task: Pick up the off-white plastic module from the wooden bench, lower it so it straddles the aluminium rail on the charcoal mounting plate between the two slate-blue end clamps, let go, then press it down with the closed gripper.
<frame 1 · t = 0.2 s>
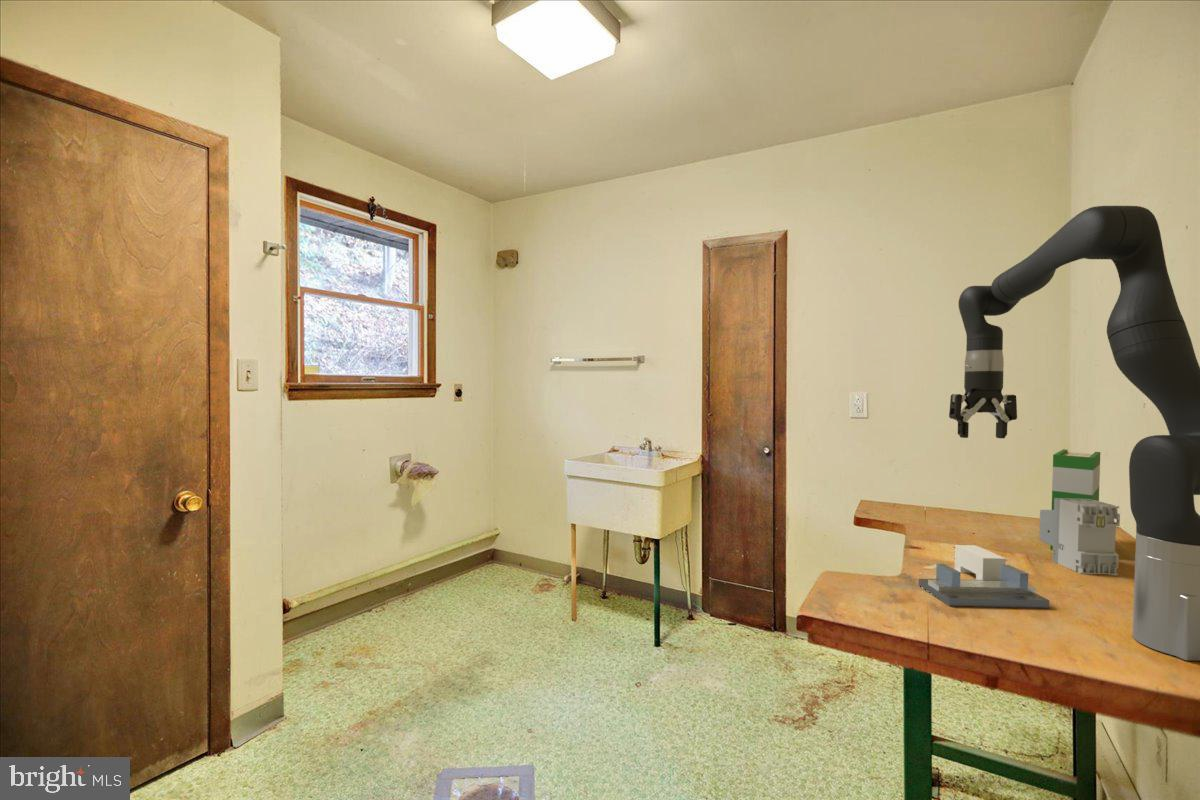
hand: (982, 437, 127), 29 cm above the workbench, tool pointing down, fingers open, 8 cm apart
rail mount: (980, 596, 103), on the workbench
circuit breaker: (1073, 564, 123), on the workbench
module: (978, 577, 113), on the workbench
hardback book: (1074, 547, 136), on the workbench
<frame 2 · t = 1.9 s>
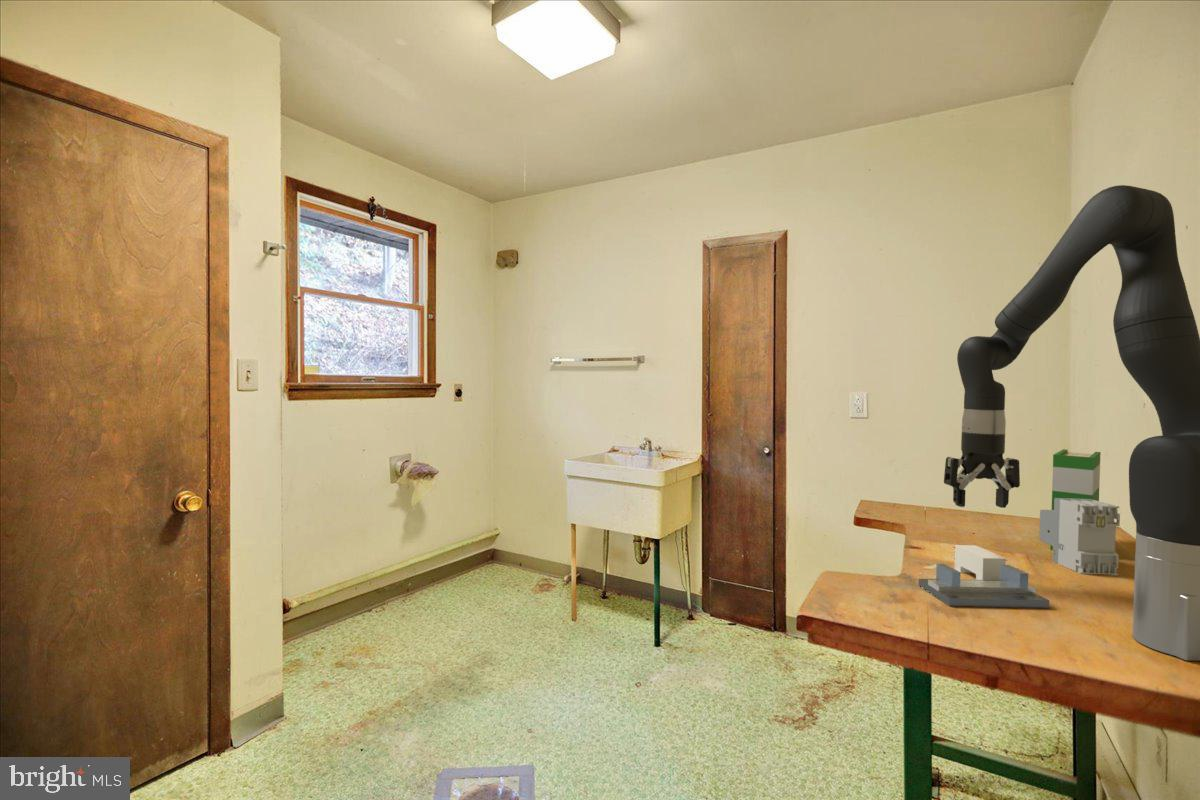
hand: (980, 506, 113), 15 cm above the workbench, tool pointing down, fingers open, 8 cm apart
nothing on the workbench moved.
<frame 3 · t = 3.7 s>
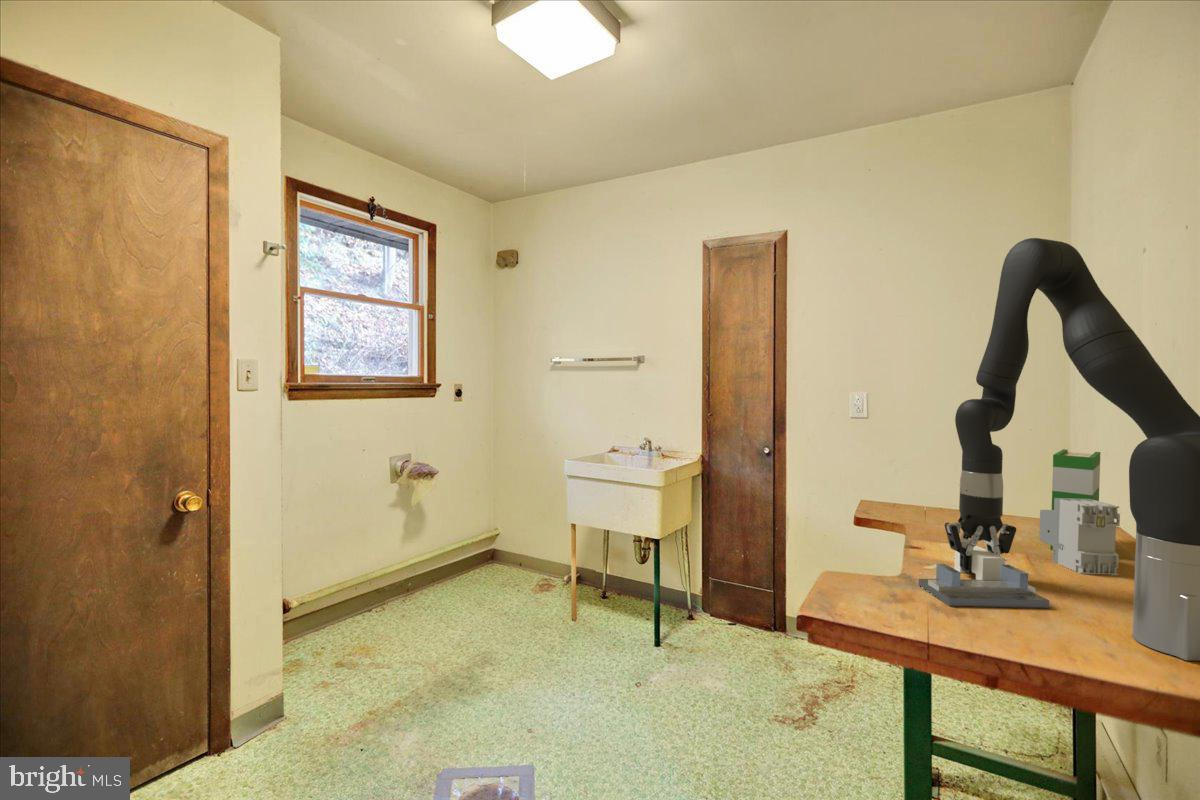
hand: (978, 571, 113), 1 cm above the workbench, tool pointing down, fingers closed on module, 4 cm apart
module: (978, 576, 113), on the workbench, touching gripper
everything else where it was.
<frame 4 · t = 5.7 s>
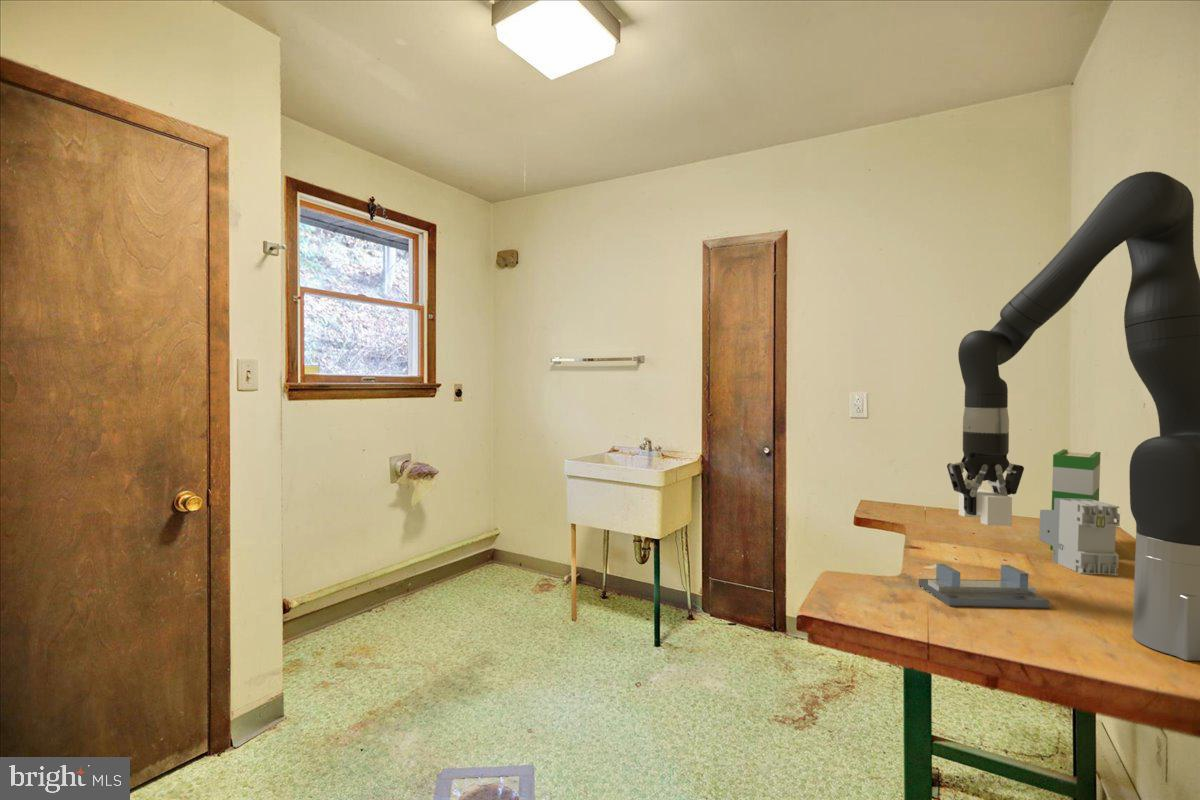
hand: (984, 514, 107), 15 cm above the workbench, tool pointing down, fingers closed on module, 4 cm apart
module: (984, 520, 107), point 14 cm above the workbench, touching gripper
everything else where it was.
when the fingers open (3 cm above the workbench, at t = 8.0 s): module stays where it is, resting on rail mount.
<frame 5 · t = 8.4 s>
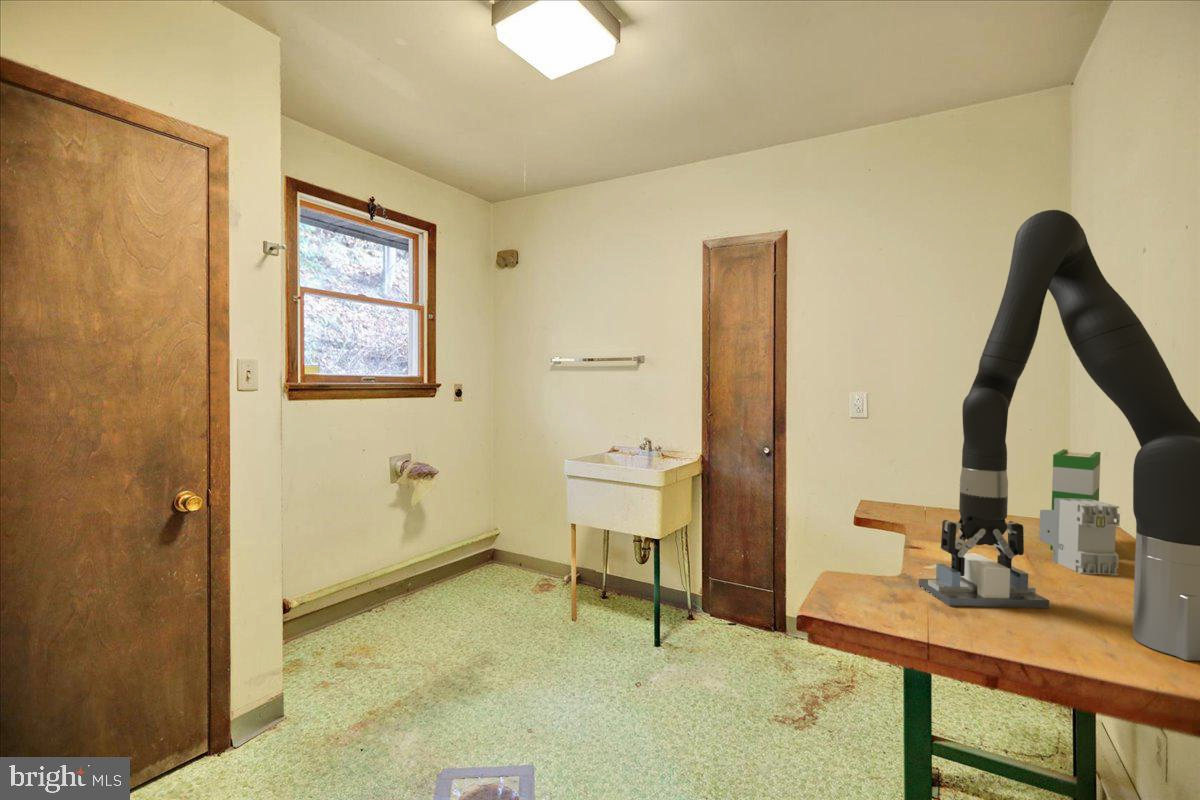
hand: (981, 575, 103), 4 cm above the workbench, tool pointing down, fingers open, 8 cm apart
module: (980, 588, 103), point 1 cm above the workbench, touching rail mount
everything else where it was.
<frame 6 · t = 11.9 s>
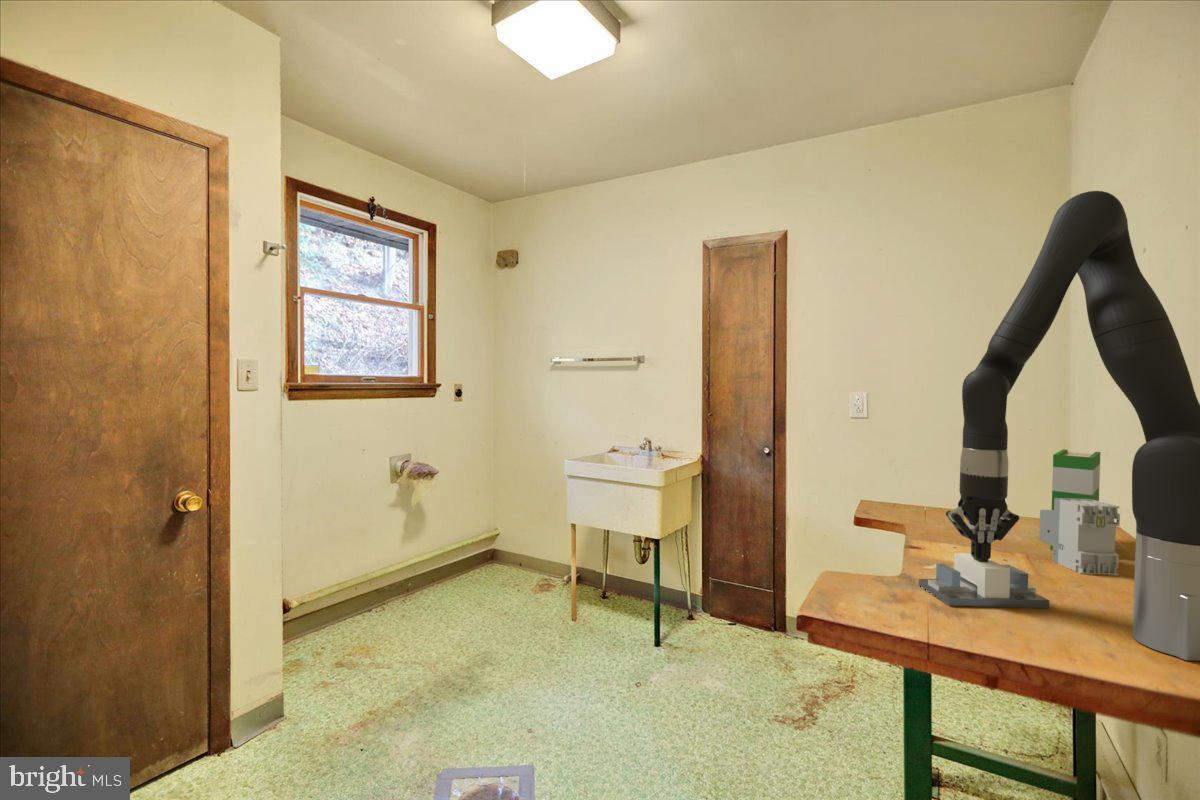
hand: (980, 560, 103), 7 cm above the workbench, tool pointing down, fingers closed
module: (980, 588, 103), point 1 cm above the workbench, touching gripper, rail mount
everything else where it was.
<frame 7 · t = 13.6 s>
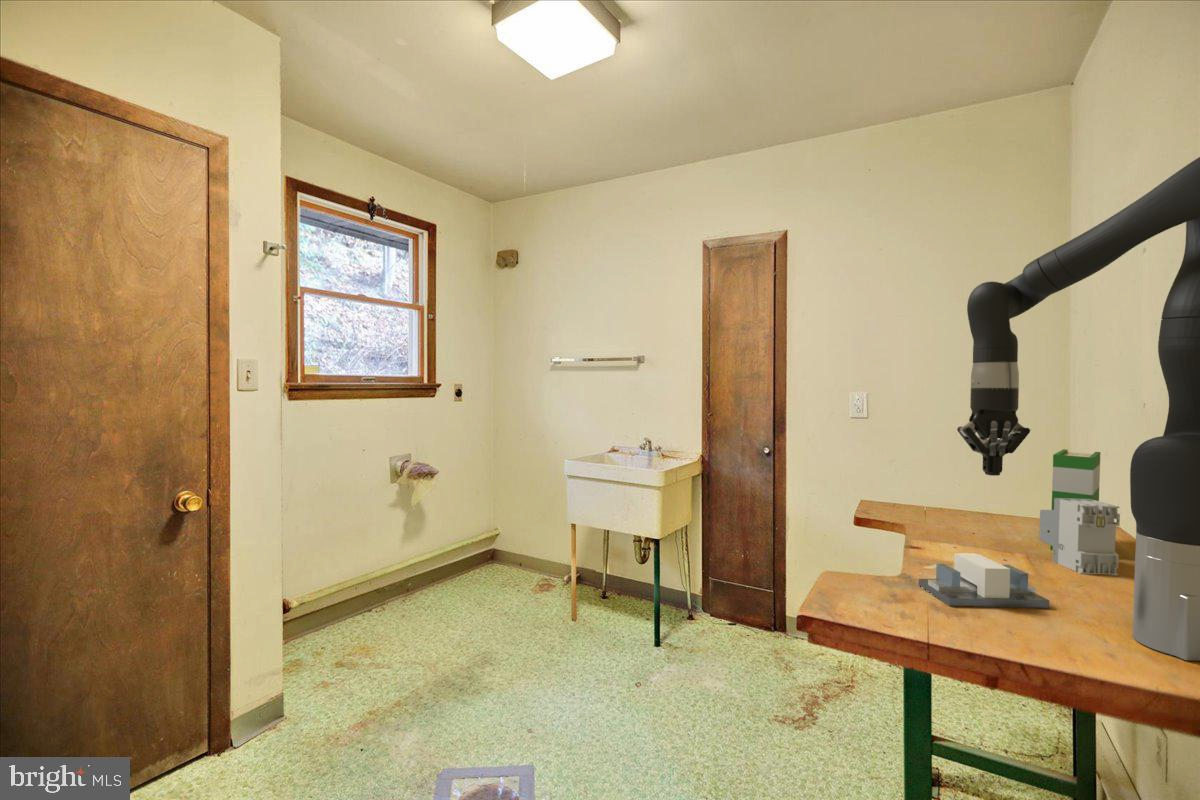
hand: (992, 474, 104), 23 cm above the workbench, tool pointing down, fingers closed
module: (980, 588, 103), point 1 cm above the workbench, touching rail mount
everything else where it was.
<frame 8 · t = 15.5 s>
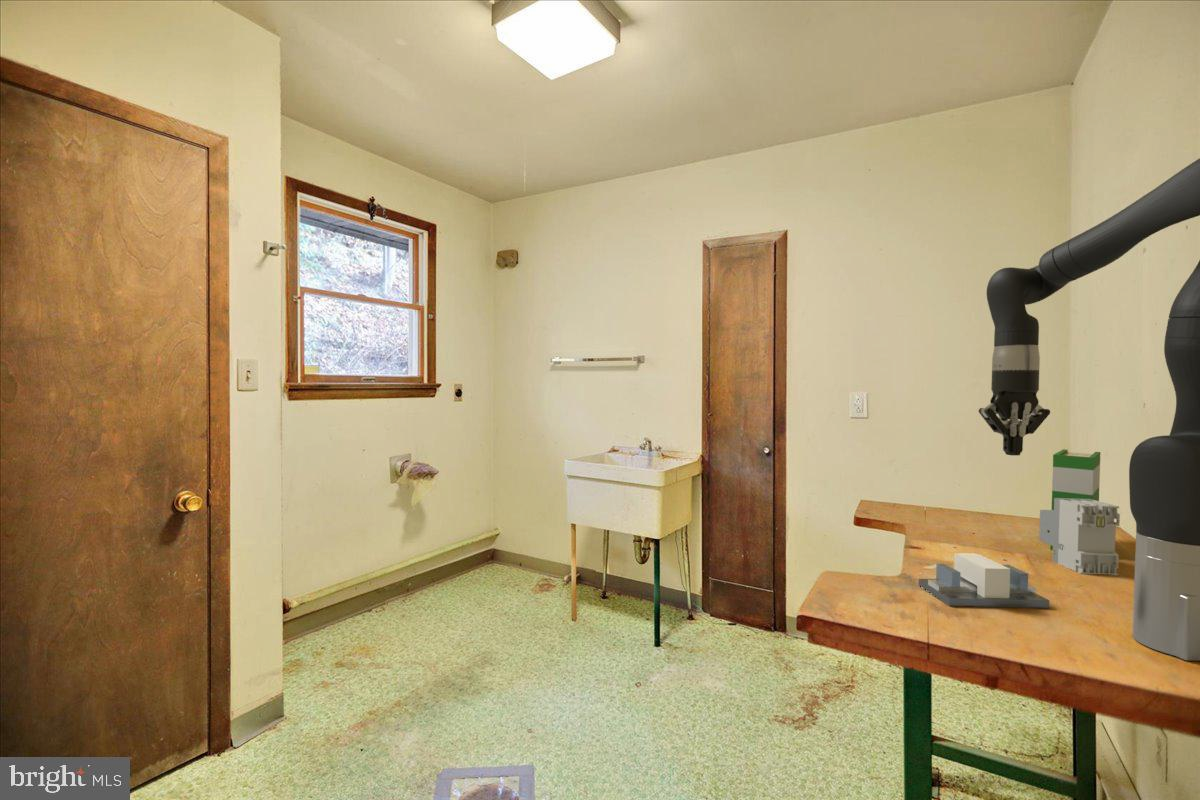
hand: (1012, 454, 107), 27 cm above the workbench, tool pointing down, fingers closed
nothing on the workbench moved.
at the end: module 0.0 cm off-centre on the rail mount, point 1.5 cm above the rail mount's base; module tilted 0°; the gripper is holding nothing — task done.
